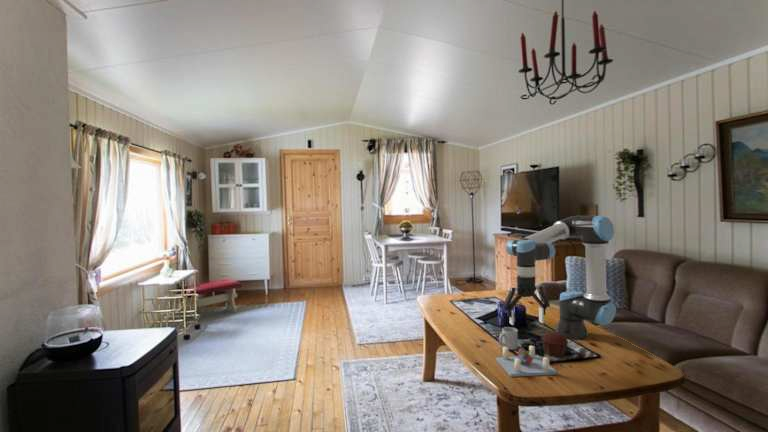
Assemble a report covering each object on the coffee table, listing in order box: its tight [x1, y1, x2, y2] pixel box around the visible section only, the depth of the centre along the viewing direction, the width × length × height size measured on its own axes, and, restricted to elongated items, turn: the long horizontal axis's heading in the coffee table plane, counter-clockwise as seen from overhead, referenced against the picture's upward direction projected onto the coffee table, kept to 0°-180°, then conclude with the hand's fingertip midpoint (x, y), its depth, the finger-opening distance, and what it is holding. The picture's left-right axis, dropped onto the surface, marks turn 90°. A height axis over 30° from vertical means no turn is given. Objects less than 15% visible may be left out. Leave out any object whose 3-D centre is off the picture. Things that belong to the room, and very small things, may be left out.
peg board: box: [495, 345, 558, 378], centre depth 158 cm, size 20×16×6 cm
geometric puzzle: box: [515, 347, 534, 366], centre depth 158 cm, size 7×7×8 cm
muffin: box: [541, 330, 569, 358], centre depth 172 cm, size 12×11×10 cm
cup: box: [498, 326, 519, 351], centre depth 179 cm, size 7×10×9 cm
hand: (526, 323), depth 159 cm, fingers open, 13 cm apart
